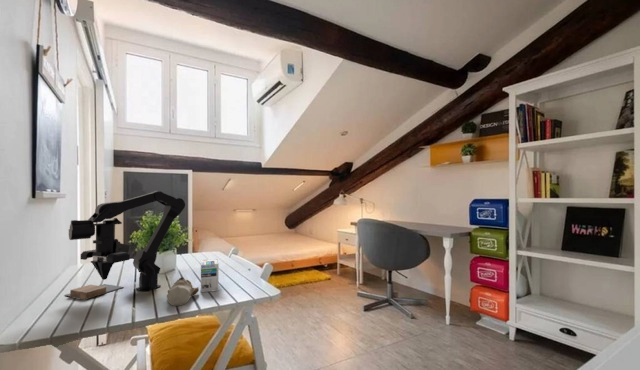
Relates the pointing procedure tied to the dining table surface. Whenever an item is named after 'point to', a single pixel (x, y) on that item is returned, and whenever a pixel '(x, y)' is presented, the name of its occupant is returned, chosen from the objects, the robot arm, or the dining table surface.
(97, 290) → the walnut tile
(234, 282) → the dining table surface
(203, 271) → the light bulb box
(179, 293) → the ceramic sculpture
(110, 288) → the mat
